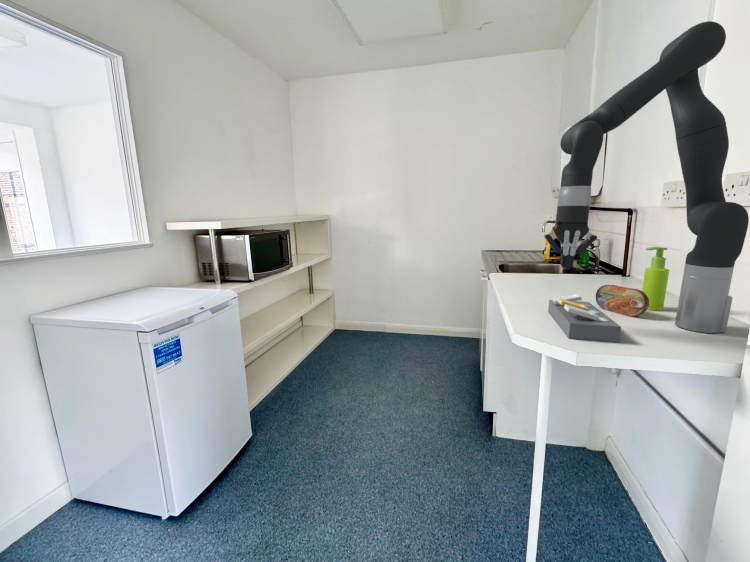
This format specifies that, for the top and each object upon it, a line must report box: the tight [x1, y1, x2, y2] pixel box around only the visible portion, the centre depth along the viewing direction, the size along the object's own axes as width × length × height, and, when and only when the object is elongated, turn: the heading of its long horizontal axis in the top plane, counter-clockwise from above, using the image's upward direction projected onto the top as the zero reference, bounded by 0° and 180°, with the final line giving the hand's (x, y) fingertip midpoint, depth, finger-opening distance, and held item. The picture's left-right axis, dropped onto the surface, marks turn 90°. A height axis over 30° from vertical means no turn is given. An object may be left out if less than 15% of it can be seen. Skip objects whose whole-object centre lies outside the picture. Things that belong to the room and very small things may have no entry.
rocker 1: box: [551, 293, 582, 305], centre depth 102 cm, size 7×4×1 cm, turn 75°
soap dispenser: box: [641, 246, 670, 312], centre depth 109 cm, size 6×7×20 cm
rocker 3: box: [564, 304, 598, 320], centre depth 89 cm, size 7×4×1 cm, turn 75°
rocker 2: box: [558, 298, 589, 311], centre depth 95 cm, size 7×4×1 cm, turn 75°
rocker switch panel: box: [547, 299, 622, 343], centre depth 95 cm, size 11×24×5 cm, turn 165°
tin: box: [595, 284, 649, 317], centre depth 107 cm, size 15×3×8 cm, turn 20°
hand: (566, 268), depth 94 cm, fingers closed
